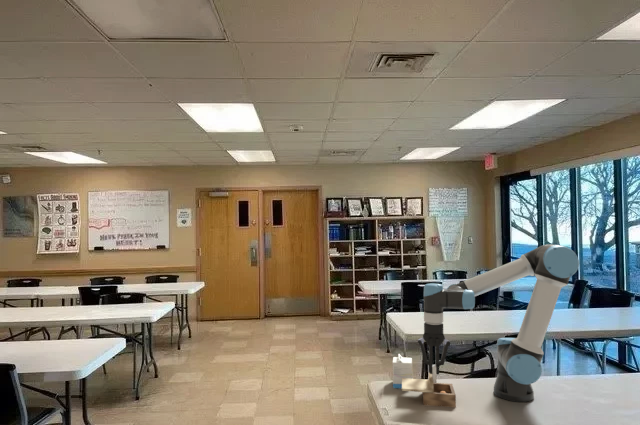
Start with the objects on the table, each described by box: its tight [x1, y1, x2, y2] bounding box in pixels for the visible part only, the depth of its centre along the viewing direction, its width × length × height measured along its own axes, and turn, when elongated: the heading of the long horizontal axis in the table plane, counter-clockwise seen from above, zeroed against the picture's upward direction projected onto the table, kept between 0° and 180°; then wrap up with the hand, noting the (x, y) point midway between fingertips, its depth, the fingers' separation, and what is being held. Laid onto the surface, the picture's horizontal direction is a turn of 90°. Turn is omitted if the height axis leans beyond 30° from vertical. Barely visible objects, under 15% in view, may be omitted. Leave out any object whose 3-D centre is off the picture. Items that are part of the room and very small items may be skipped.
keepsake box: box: [421, 382, 457, 408], centre depth 169 cm, size 12×12×5 cm
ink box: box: [392, 353, 414, 389], centre depth 186 cm, size 9×8×13 cm
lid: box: [401, 372, 434, 393], centre depth 171 cm, size 12×12×4 cm
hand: (434, 382), depth 170 cm, fingers closed
